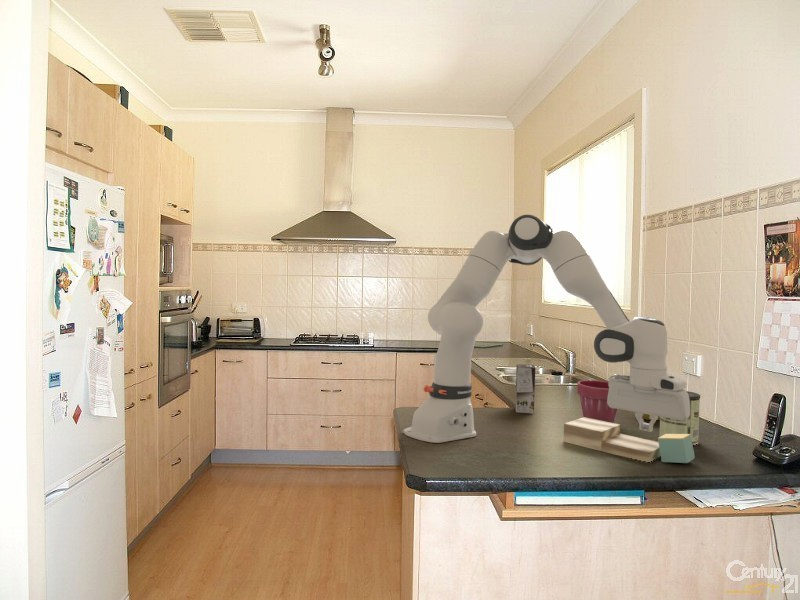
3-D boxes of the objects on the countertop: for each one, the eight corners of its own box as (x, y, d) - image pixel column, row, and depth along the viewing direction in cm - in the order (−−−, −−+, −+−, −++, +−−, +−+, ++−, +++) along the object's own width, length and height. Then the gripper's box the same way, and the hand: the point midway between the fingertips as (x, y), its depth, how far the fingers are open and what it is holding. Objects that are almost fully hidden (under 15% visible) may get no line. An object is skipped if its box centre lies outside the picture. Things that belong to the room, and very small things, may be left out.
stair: (649, 463, 131) (650, 442, 131) (563, 441, 148) (564, 423, 148) (666, 453, 139) (666, 434, 139) (583, 434, 156) (583, 417, 156)
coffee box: (534, 414, 180) (535, 367, 180) (515, 412, 182) (516, 366, 181) (533, 408, 189) (534, 364, 189) (515, 407, 191) (516, 363, 190)
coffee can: (660, 433, 159) (661, 388, 159) (698, 439, 154) (700, 392, 153) (657, 441, 150) (659, 393, 150) (698, 448, 145) (700, 398, 144)
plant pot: (618, 430, 161) (620, 389, 161) (572, 423, 168) (573, 384, 168) (623, 420, 174) (625, 383, 174) (580, 414, 181) (581, 378, 180)
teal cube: (657, 437, 133) (661, 461, 132) (682, 438, 128) (687, 463, 128) (665, 433, 137) (670, 457, 136) (690, 434, 133) (694, 457, 132)
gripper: (604, 374, 142) (602, 424, 143) (685, 385, 128) (683, 441, 128) (613, 372, 147) (612, 420, 147) (693, 382, 132) (691, 436, 133)
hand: (646, 430), depth 137 cm, fingers closed
